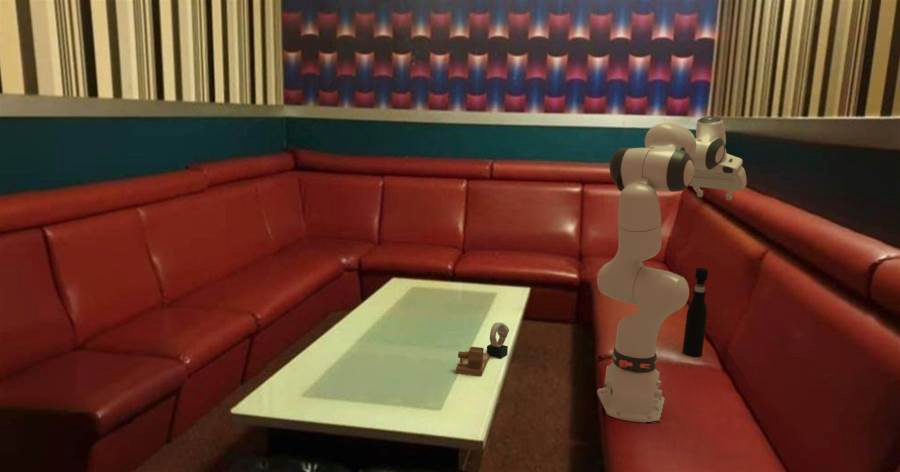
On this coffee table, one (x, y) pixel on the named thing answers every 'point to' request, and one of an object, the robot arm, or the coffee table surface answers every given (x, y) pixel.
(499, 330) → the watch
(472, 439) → the coffee table surface
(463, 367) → the board
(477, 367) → the brown stepped block
